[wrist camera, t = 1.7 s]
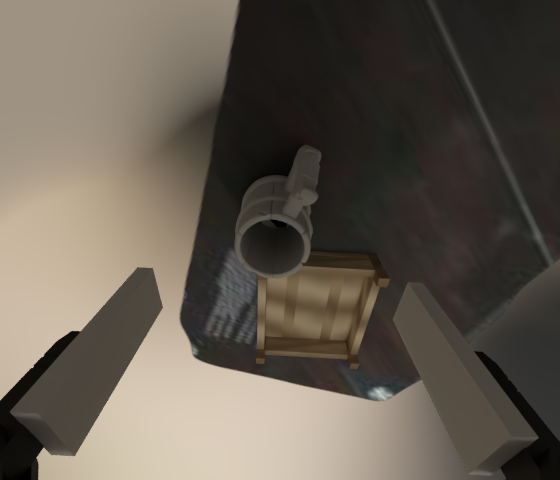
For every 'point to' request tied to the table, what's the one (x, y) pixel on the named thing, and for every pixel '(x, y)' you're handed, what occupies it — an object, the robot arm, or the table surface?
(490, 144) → the table surface
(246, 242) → the mug
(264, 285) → the wooden tray
